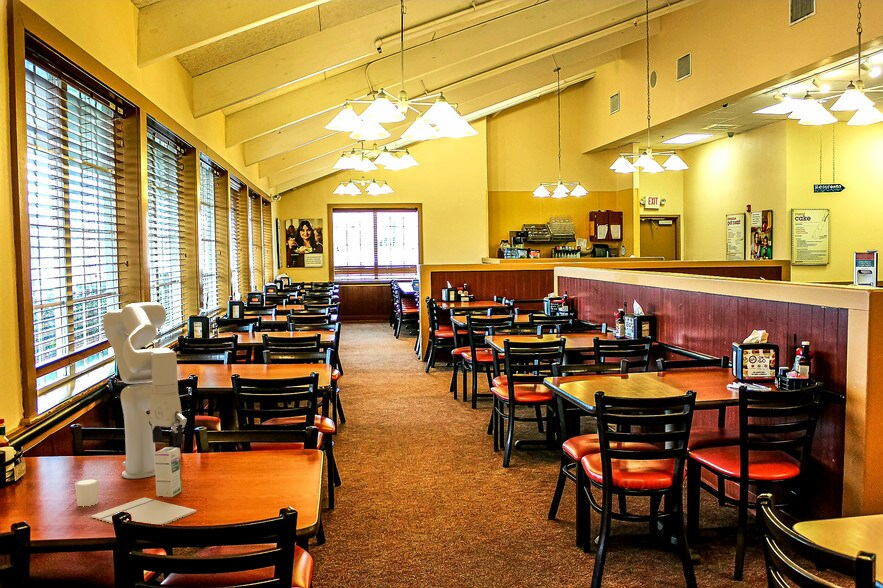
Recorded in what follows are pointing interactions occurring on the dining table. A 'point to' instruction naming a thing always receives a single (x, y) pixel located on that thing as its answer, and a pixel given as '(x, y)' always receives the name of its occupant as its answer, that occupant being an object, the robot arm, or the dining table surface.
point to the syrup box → (168, 471)
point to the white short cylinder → (87, 492)
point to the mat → (147, 511)
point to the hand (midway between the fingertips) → (167, 443)
